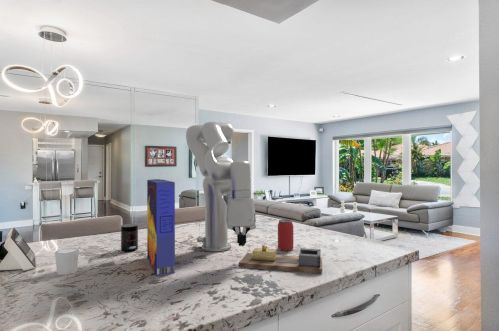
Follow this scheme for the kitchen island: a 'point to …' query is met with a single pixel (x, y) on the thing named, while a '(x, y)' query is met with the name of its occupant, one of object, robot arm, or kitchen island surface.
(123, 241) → the supplement container
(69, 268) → the white cup
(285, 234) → the beer can
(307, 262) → the keeper
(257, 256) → the bolt
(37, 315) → the kitchen island surface
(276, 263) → the door panel
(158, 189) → the cereal box
